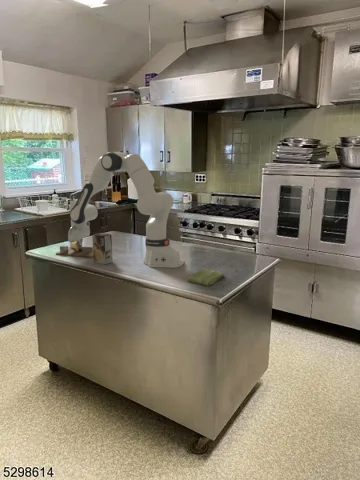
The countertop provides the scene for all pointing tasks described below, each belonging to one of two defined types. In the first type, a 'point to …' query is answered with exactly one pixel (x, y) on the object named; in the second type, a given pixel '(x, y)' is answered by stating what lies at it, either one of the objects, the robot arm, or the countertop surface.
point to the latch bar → (76, 246)
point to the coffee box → (102, 248)
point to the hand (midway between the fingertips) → (80, 245)
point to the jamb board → (76, 252)
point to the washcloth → (205, 277)
